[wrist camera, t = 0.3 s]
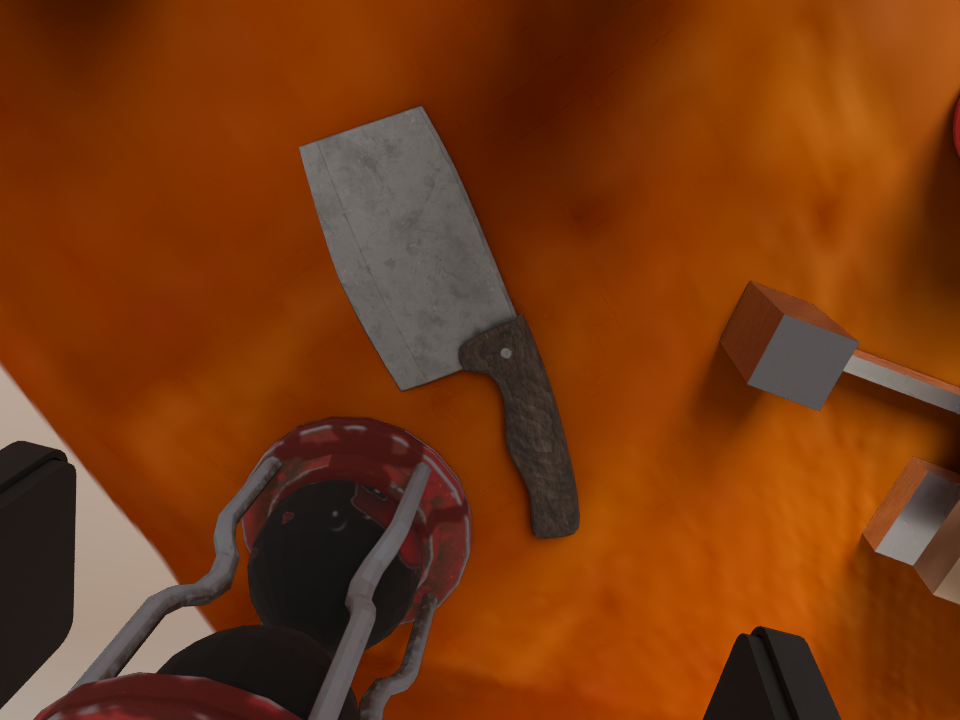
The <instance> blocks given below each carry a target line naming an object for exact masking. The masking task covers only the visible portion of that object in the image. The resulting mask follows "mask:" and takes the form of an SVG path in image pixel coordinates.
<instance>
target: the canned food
mask: <svg viewBox="0 0 960 720" xmlns="http://www.w3.org/2000/svg"><path fill="white" fill-rule="evenodd" d="M953 141H954V144H955V148H956V151H957V154H958V156H959V158H960V97H959V99H958V103H957V106H956V109H955V112H954V119H953Z"/></svg>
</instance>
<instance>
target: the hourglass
mask: <svg viewBox="0 0 960 720" xmlns="http://www.w3.org/2000/svg"><path fill="white" fill-rule="evenodd" d="M240 520H241V521H242V528H243V535H244V542H245V544H246V546H247V548H248V550H249V552H250V558H249V562H248V581H249V589H250V595H251V602H252V604H253V606H254V608H255V610H256V612H257V614H258V615H259V617H260V619H261V621H262V623H261V624H260V625H251V626H241V627H237V628H232V629H228V630H223V631H219V632H216V633H214V634H212V635H209V636H207V637H205V638H203V639H201V640H198V641H196V642H194V643H193V644H191V645H190V646H188V647H186V648H185V649H183V650H182V651H180V652H179V653H177V654H175V655H174V656H172V657H171V658H170V659H169V660H168V661H167V663H165V664H164V665H163V666H162V667H161V669H159V670H158V672H157V673H156V674H155V673H142V672H138V673H133V674H128V675H123V676H119V677H117V676H118V675H119V673H120V672H121V671H122V669H123V668H124V667H125V666H126V664H127V663H128V662H129V660H130V659H131V658H132V657H133V656H134V654H135V653H136V652H137V651H138V649H139V648H140V647H141V645H142V644H143V643H144V642H145V640H146V639H147V638H148V636H149V635H150V634H151V633H152V632H153V630H154V629H155V628H156V627H157V625H158V624H159V623H160V621H161V620H162V619H163V618H164V616H165V615H167V614H169V613H171V612H173V611H175V610H177V609H179V608H181V607H187V606H201V605H205V604H209V603H211V602H212V601H214V600H215V599H216V598H218V597H219V596H220V595H222V594H223V593H225V592H226V591H227V590H229V589H230V588H231V585H232V582H233V578H234V575H235V572H236V568H237V565H238V561H239V554H238V549H237V545H236V541H235V534H236V527H237V524H238V522H239V521H240ZM213 539H214V545H215V552H216V559H215V561H214V563H213V566H212V568H211V570H210V572H209V573H208V574H206V575H205V576H204V577H202V578H201V579H200V580H199V581H197V582H196V583H195V584H185V585H176V586H172V587H169V588H166V589H165V590H162V591H160V592H158V593H157V594H155V595H153V596H151V597H149V598H148V599H147V600H146V601H145V602H144V603H143V605H142V606H141V607H140V608H139V609H138V610H137V612H136V613H135V614H134V615H133V616H132V618H131V619H130V620H129V621H128V622H127V623H126V625H125V626H124V627H123V628H122V629H121V631H120V632H119V633H118V634H117V635H116V636H115V638H114V639H113V640H112V641H111V642H110V644H109V645H108V646H107V647H106V648H105V649H104V651H103V652H102V653H101V654H100V655H99V657H98V658H97V659H96V660H95V661H94V663H93V664H92V665H91V666H90V667H89V668H88V670H87V671H86V672H85V673H84V674H83V676H82V677H81V678H80V679H79V680H78V681H77V683H76V684H75V685H74V686H73V687H72V688H71V690H70V691H69V692H68V693H67V694H66V695H65V696H63V697H62V698H60V699H59V700H57V701H55V702H54V703H52V704H51V705H49V706H48V707H46V708H45V709H43V710H41V712H40V713H39V714H38V715H37V716H36V717H35V718H34V720H382V717H383V709H384V706H385V704H386V703H387V701H388V699H389V698H390V696H391V695H394V694H397V693H400V692H403V691H406V690H407V689H408V688H409V686H410V685H411V684H412V683H413V682H414V681H415V679H416V677H417V675H418V671H419V668H420V664H421V660H422V656H423V652H424V649H425V645H426V641H427V637H428V633H429V630H430V626H431V622H432V618H433V615H434V611H435V609H436V608H438V607H439V606H440V605H441V604H442V603H443V601H444V600H445V599H446V598H447V597H448V596H449V595H450V593H451V592H452V591H453V590H454V589H455V588H456V586H457V585H458V584H459V582H460V580H461V577H462V574H463V571H464V568H465V566H466V563H467V560H468V557H469V554H470V550H471V545H472V517H471V509H470V506H469V504H468V501H467V499H466V496H465V493H464V491H463V488H462V486H461V483H460V480H459V479H458V477H457V476H456V475H455V474H454V472H453V471H452V470H451V469H450V468H449V466H448V465H447V464H446V463H445V461H444V460H443V459H442V458H441V457H440V455H439V454H438V453H437V452H436V451H435V450H434V449H432V448H431V447H429V446H428V445H426V444H425V443H423V442H422V441H420V440H419V439H418V438H416V437H415V436H413V435H412V434H410V433H409V432H407V431H406V430H404V429H401V428H398V427H395V426H392V425H389V424H386V423H383V422H379V421H376V420H373V419H370V418H355V417H329V418H326V419H322V420H319V421H315V422H312V423H308V424H304V425H301V426H298V427H297V428H295V429H294V430H292V431H291V432H289V433H288V434H287V435H285V436H284V437H282V438H281V439H280V440H278V441H277V442H275V443H274V444H272V445H271V447H270V448H269V449H268V450H267V451H266V452H265V453H264V455H263V456H262V458H261V459H260V461H259V462H258V464H257V465H256V467H255V468H254V470H253V471H252V473H251V474H250V476H249V477H248V479H247V480H246V483H245V485H244V486H243V487H242V488H241V489H240V491H239V492H238V493H237V494H236V495H235V496H234V498H233V499H232V500H231V501H230V502H229V503H228V505H227V506H226V507H225V508H224V509H223V510H222V512H221V513H220V514H219V516H218V520H217V524H216V528H215V532H214V536H213ZM414 620H415V621H414ZM413 621H414V625H413V628H412V631H411V635H410V638H409V641H408V644H407V648H406V651H405V654H404V658H403V661H402V664H401V667H400V668H399V669H398V670H397V671H396V672H395V673H394V674H393V675H392V676H390V677H385V678H380V679H376V680H375V681H374V682H373V683H372V685H371V686H370V687H369V689H368V690H367V691H366V693H365V694H364V695H363V697H362V698H361V701H360V703H359V710H358V706H357V701H356V697H355V695H354V693H353V691H352V689H351V686H350V685H351V682H352V680H353V677H354V675H355V672H356V669H357V667H358V664H359V661H360V659H361V656H362V654H363V651H364V650H366V649H368V648H370V647H371V646H373V645H375V644H377V643H378V642H380V641H381V640H383V639H384V638H386V637H387V636H389V635H390V634H391V633H392V632H393V631H394V629H395V628H396V627H397V626H398V625H401V624H405V623H410V622H413ZM333 658H334V659H333Z"/></svg>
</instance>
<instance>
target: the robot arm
mask: <svg viewBox="0 0 960 720" xmlns="http://www.w3.org/2000/svg"><path fill="white" fill-rule="evenodd" d="M75 514H76V469H75V467H74V466H73V465H72V464H70V463H68V460H67V457H66V455H65V453H64V452H62V451H61V450H58V449H54V448H49V447H45V446H42V445H38V444H34V443H30V442H26V441H17V442H14V443H12V444H10V445H8V446H6V447H5V448H3V449H1V450H0V709H1V708H2V707H3V706H4V705H5V704H6V703H7V702H8V701H9V700H10V699H11V698H12V696H13V695H14V694H15V693H16V692H17V691H18V690H19V689H20V688H21V687H22V686H23V685H24V684H25V682H27V681H28V680H29V679H30V678H31V676H32V675H33V674H34V673H35V672H36V671H37V670H38V669H39V668H40V667H41V666H42V665H43V664H44V663H45V661H47V659H48V658H49V657H50V656H51V655H52V654H53V653H54V652H55V651H56V650H57V649H58V648H59V647H60V646H61V644H62V643H63V642H64V640H65V638H66V637H67V635H68V633H69V631H70V629H71V626H72V622H73V608H74V606H73V605H74V562H75V561H74V560H75ZM703 720H841V718H840V716H839V713H838V711H837V709H836V707H835V704H834V702H833V700H832V698H831V695H830V693H829V691H828V689H827V686H826V684H825V682H824V680H823V677H822V675H821V673H820V671H819V669H818V666H817V664H816V662H815V660H814V657H813V655H812V653H811V651H810V648H809V646H808V644H807V642H806V641H805V639H804V638H802V637H800V636H798V635H794V634H790V633H786V632H782V631H778V630H774V629H770V628H766V627H762V626H759V627H756V628H755V629H754V630H753V631H752V633H751V635H748V634H744V633H743V634H740V635H739V636H738V637H737V639H736V641H735V643H734V646H733V648H732V651H731V653H730V655H729V658H728V660H727V662H726V665H725V667H724V670H723V672H722V674H721V677H720V679H719V682H718V684H717V686H716V689H715V691H714V694H713V696H712V698H711V701H710V703H709V706H708V708H707V710H706V713H705V715H704V718H703Z"/></svg>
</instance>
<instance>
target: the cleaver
mask: <svg viewBox="0 0 960 720" xmlns="http://www.w3.org/2000/svg"><path fill="white" fill-rule="evenodd" d="M299 149H300V153H301V157H302V160H303V164H304V168H305V171H306V175H307V179H308V182H309V186H310V189H311V193H312V196H313V200H314V203H315V207H316V210H317V214H318V217H319V220H320V224H321V227H322V230H323V233H324V236H325V239H326V243H327V246H328V249H329V252H330V255H331V257H332V260H333V263H334V266H335V269H336V272H337V275H338V277H339V280H340V282H341V285H342V287H343V289H344V291H345V293H346V295H347V297H348V299H349V301H350V303H351V305H352V307H353V309H354V311H355V313H356V315H357V317H358V318H359V320H360V322H361V324H362V326H363V328H364V330H365V331H366V333H367V335H368V337H369V339H370V340H371V342H372V344H373V345H374V347H375V349H376V351H377V352H378V354H379V356H380V357H381V359H382V361H383V362H384V364H385V366H386V367H387V369H388V371H389V372H390V374H391V375H392V377H393V379H394V380H395V382H396V383H397V385H398V387H399V388H400V390H401V391H404V390H407V389H410V388H413V387H416V386H419V385H422V384H425V383H428V382H431V381H433V380H436V379H439V378H441V377H444V376H447V375H449V374H452V373H454V372H457V371H460V370H462V369H464V370H465V371H470V372H477V373H485V374H488V375H489V376H490V377H491V378H492V379H493V380H494V381H496V382H497V384H498V387H499V389H500V391H501V393H502V396H503V402H504V408H505V437H506V443H507V448H508V451H509V453H510V456H511V458H512V460H513V462H514V464H515V465H516V467H517V469H518V471H519V472H520V474H521V476H522V478H523V480H524V481H525V484H526V487H527V490H528V493H529V496H530V507H531V527H532V531H533V535H535V536H536V537H538V538H539V539H548V538H556V537H563V536H568V535H571V534H574V533H575V532H576V530H577V529H578V528H579V517H580V515H579V505H578V496H577V490H576V484H575V479H574V474H573V469H572V464H571V460H570V456H569V452H568V447H567V443H566V439H565V435H564V431H563V428H562V424H561V420H560V416H559V413H558V409H557V406H556V402H555V399H554V395H553V392H552V389H551V385H550V382H549V379H548V376H547V373H546V370H545V367H544V365H543V362H542V359H541V356H540V354H539V351H538V348H537V346H536V343H535V341H534V338H533V336H532V333H531V331H530V328H529V326H528V324H527V322H526V320H525V318H524V317H523V316H522V315H521V314H518V315H516V312H515V310H514V307H513V305H512V302H511V300H510V297H509V295H508V292H507V290H506V288H505V285H504V283H503V280H502V278H501V275H500V273H499V270H498V268H497V265H496V263H495V260H494V258H493V255H492V253H491V251H490V248H489V246H488V243H487V241H486V238H485V236H484V233H483V231H482V228H481V226H480V223H479V221H478V219H477V216H476V214H475V211H474V209H473V206H472V204H471V202H470V199H469V197H468V194H467V192H466V190H465V188H464V186H463V183H462V181H461V179H460V177H459V175H458V172H457V170H456V168H455V166H454V164H453V162H452V160H451V158H450V156H449V154H448V152H447V150H446V148H445V147H444V145H443V143H442V141H441V139H440V137H439V135H438V133H437V132H436V130H435V128H434V126H433V125H432V123H431V121H430V119H429V118H428V116H427V114H426V112H425V110H424V109H423V107H422V106H419V107H416V108H413V109H410V110H407V111H404V112H401V113H398V114H395V115H392V116H389V117H386V118H383V119H380V120H377V121H374V122H371V123H368V124H365V125H362V126H359V127H356V128H353V129H350V130H347V131H344V132H342V133H339V134H336V135H333V136H330V137H327V138H324V139H321V140H318V141H315V142H312V143H309V144H306V145H303V146H301V147H299Z"/></svg>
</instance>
